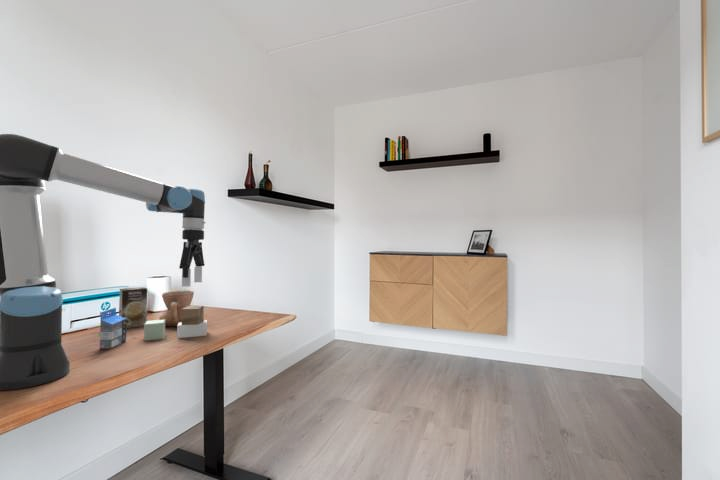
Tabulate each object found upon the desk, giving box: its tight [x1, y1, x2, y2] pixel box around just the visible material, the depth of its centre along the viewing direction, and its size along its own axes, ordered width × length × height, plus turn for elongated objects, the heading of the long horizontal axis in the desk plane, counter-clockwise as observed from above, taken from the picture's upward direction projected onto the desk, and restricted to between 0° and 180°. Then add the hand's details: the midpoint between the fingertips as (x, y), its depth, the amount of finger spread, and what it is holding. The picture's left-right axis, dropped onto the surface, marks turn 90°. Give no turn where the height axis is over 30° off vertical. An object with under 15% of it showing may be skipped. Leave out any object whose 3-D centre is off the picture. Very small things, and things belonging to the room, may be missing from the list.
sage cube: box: [143, 319, 166, 341], centre depth 125 cm, size 6×6×6 cm
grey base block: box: [176, 319, 208, 339], centre depth 128 cm, size 5×10×5 cm, turn 114°
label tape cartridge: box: [99, 307, 127, 350], centre depth 116 cm, size 9×4×12 cm, turn 7°
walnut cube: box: [182, 305, 205, 325], centre depth 128 cm, size 6×6×6 cm
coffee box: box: [118, 286, 148, 329], centre depth 142 cm, size 9×6×16 cm
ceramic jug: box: [158, 289, 195, 327], centre depth 145 cm, size 18×14×14 cm
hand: (192, 284), depth 128 cm, fingers open, 13 cm apart
